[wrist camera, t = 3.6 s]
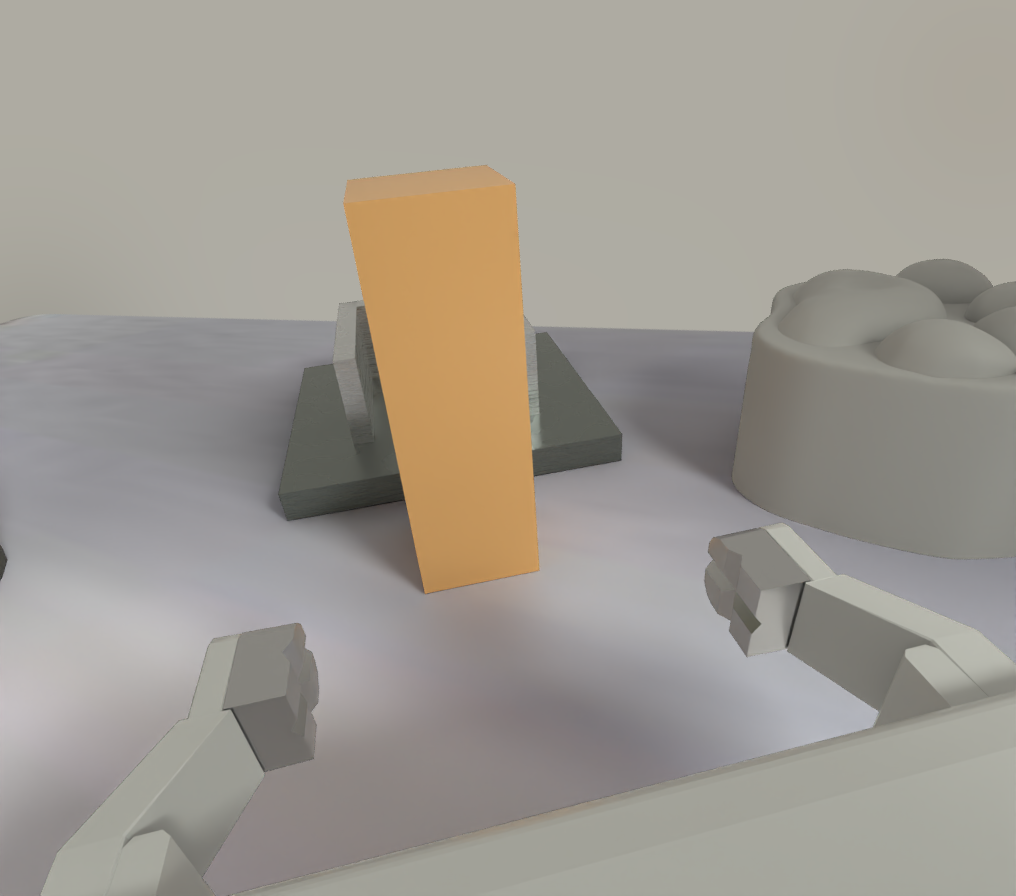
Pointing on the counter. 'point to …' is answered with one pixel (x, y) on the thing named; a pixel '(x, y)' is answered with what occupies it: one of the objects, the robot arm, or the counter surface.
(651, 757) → the counter surface
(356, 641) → the counter surface
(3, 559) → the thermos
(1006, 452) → the lumpy-topped squat cylinder
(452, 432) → the tall orange pillar
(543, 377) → the grey rail base plate
